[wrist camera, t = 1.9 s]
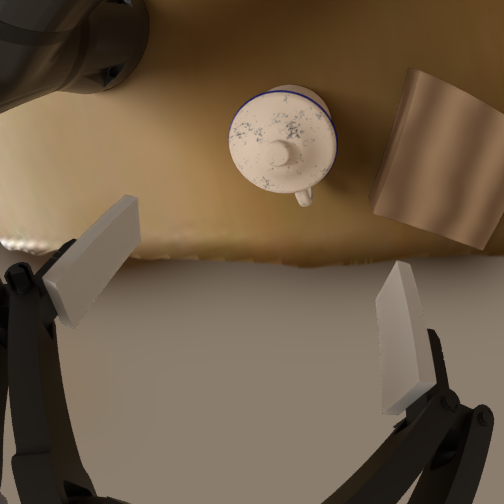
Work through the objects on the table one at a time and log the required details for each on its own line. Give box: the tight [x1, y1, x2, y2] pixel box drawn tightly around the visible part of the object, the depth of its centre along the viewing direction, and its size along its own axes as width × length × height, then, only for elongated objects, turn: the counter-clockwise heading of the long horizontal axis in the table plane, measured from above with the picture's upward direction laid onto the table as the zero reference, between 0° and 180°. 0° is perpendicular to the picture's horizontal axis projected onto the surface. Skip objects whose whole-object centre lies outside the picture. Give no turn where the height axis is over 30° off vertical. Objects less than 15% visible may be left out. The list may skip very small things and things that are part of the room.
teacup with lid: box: [229, 85, 338, 207], centre depth 27 cm, size 12×9×12 cm
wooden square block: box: [369, 69, 504, 251], centre depth 27 cm, size 16×16×4 cm
